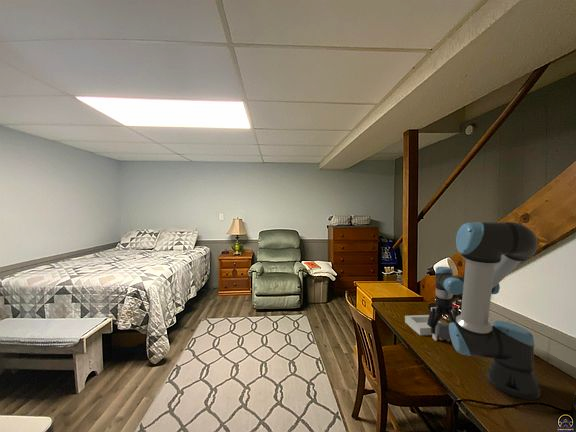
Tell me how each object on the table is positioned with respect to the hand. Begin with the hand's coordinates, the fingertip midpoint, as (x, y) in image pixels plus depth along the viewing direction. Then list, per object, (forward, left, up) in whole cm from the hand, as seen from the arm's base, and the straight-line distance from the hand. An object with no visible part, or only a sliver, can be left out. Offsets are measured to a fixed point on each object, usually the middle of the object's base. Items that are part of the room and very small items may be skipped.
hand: (443, 339), depth 130 cm
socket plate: (+13, +2, 0) cm, 13 cm away
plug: (0, 0, 0) cm, 0 cm away
